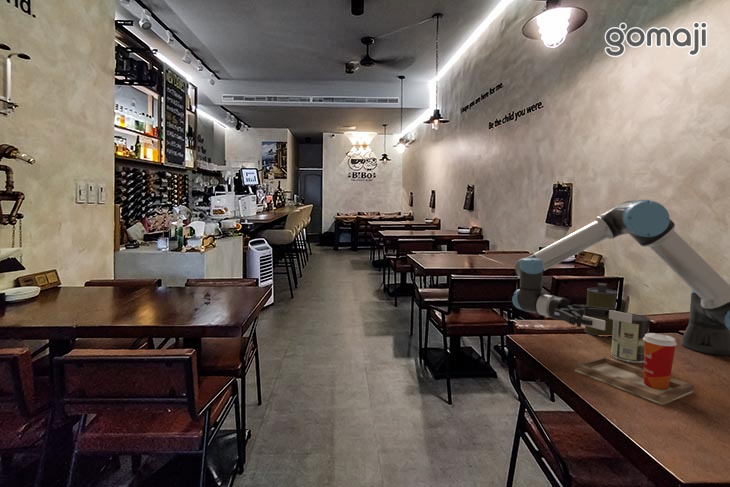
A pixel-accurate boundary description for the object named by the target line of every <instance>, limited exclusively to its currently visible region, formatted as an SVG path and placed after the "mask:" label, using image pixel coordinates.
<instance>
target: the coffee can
mask: <svg viewBox="0 0 730 487" xmlns="http://www.w3.org/2000/svg"><path fill="white" fill-rule="evenodd" d="M628 314H632V323H631V324H630V323H626V322H621V321H617V320H613V334H612V338H611V352H610V355H612V356H613V358H614V357H615V358H614V359H615V360H618V359H619V360H618V361H621V360H622V361H621V362H625V361H626V362H625V363H630V362H631V363H632V364H644V340H643V338H644V337H645V334H647V333H650V332H649V331H650V323H651V318H650V317H648V316H645V315H641V314H638V313H637V314H636V313H629V312H628ZM612 356H611V357H612ZM631 363H630V364H631Z"/></svg>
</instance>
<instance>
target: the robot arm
mask: <svg viewBox="0 0 730 487" xmlns="http://www.w3.org/2000/svg"><path fill="white" fill-rule="evenodd" d="M675 227H676V224H675V223H674V221H673V220H672V219H671V217H670V213H669V211H668V210H667V207H666V206H664V205H663V204H661V203H660V202H657V201H654V200H649V199H639V200H626V201H623V202H621V203H619V204H617V205H615V206H613V207H611V208H610V209H608V210H607V211H605V212H602V214H600V215H598V216H596V217H595V220H594V221H593V222H591V223H589V224H587V225H585V226H583V227H581V228H579V229H577V230H576V231H574V232H572V233H570V234H568V235H566V236H565V237H563V238H561V239H559V240H557V241H555V242H554V243H551V244H550V245H547V246H546V247H544V248H541V249H540V250H539V251H536V252H535V253H533V254H531V255H529V256H527V257H523V258H519V259H518V260H517V261H516V262H515V265H514V271H515V274H516V275H517V276H518V277H519V288H518V289H516V290H515V291H514V292H513V296H512V299H511V301H512V304H513V306H514V308H516V309H519V310H520V311H523V312H526V313H527V312H528V313H532V314H536V315H540V316H544V317H545V319H547V318H552V319H554V320H558V321H564V322H566V323H568V324H570V325H571V326H576V327H577V328H581V327H582V326H584V327H585V326H589V327H592V328H596V329H600V330H605V322H606V321H604V320H600V319H596V318H592V317H587V316H596V317H608V318H609V319H613V320H617V321H621V322H626V323H630V324H631V323H632V314H633V313H631V314H628V313H629V312H628V313H627V312H622V311H617V310H615V311H613V309H612V307H609V308H605V307H596V306H587V304H581V303H579V304H571V301H570V300H569V299H568V298H566V297H561V296H556V295H553V294H547V293H543V274H544V272H545V271H546V270H549V269H550V268H552V267H554V266H556V265H559V264H560V263H562V262H565V261H566V260H568V259H569V258H572V257H574V256H575V255H578V254H579V253H581V252H584V251H585V250H587V249H589V248H591V247H593V246H595V245H598V244H599V243H601V242H603V241H605V240H607V239H609V240H614V239H615V238H617V237H619V236H622V235H627V234H628V235H629V236H631V237H632V238H633V239H634V240H635V241H636V242H637V243H638V244H639V245H640V246H641V247H646V248H648V247H649V248H650V249H651V251H653V252H654V253H655V254H656V255H657V256H658V258H660V259H661V260H662V261H663V262H664V264H666V265H667V266H668V267H669V268H670V269H671V270H672V271H673V272H674V273H675V274H676V275H677V276H678V277H679V278H680V279H681V280H682V281H683V282H684V283H685V284H686V285H687V286H688V287H689V288H690V289H691V293H690V305H689V320H688V325H687V327H686V329H685V331H684V333H683V335H682V336H681V341H680V342H681V343H680V344H681V345H682V346H683V347H684V348H687V349H689V350H692V351H696V352H700V353H705V354H708V355H709V354H710V355H714V356H715V355H717V356H730V283H729V282H728V281H727V280H725V279H724V278H723V277H722V276H721V275H720V274H719V273H718V272H717V271H716V270H715V269H714V268H713V267H712V266H711V265H710V264H709V263H708V262H707V260H705V259H704V257H702V256H701V255H700V254H698V252H697V251H696V250H695V249H694V248H693V247H692V246H690V245H689V244H688V243H687V241H686V240H684V239H683V237H682V236H681V235H680V234H678V232H676V230H675Z"/></svg>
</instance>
